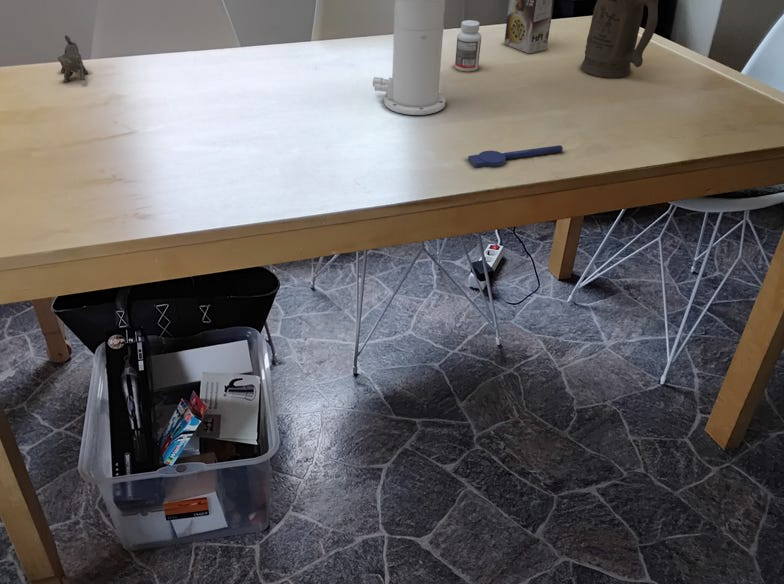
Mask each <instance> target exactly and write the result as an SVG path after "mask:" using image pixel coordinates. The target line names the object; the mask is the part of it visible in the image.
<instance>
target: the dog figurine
mask: <svg viewBox="0 0 784 584" xmlns="http://www.w3.org/2000/svg"><path fill="white" fill-rule="evenodd" d="M64 39H65V41H66V42H67V44H66V45H65V48H64V54H61V55H60V56H58V57H57V61H58V62H59V63H60V65H61V69H60V73H61V74H63V82H64V83H67V82H69V80H70V79H71V77H72V76H73V75H74V73H77V72H79V75H80V81H86V77H85V75H87V74H89V71H88V70H87V68H86V66H85V65H84V63H83V60H82V55H81V54H80V52H79V46H78V45H77V43H76V42H74V41H72V39H71V38H70V37H69V36H68V35H66V34H65V35H64Z"/></svg>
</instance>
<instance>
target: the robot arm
mask: <svg viewBox="0 0 784 584" xmlns="http://www.w3.org/2000/svg"><path fill="white" fill-rule="evenodd" d="M445 9H446V0H394V9H393V10H394V11H393V44H392V47H393V48H392V50H393V51H392V75H391V77H388V78H384V77H378V76H374V77H373V80H372V87H373V88H374V91H375V92H377V91H378V92H385V93H386V94H385V95H384V96H383V104H384V106H385V107H386V108H387V109H388V110H390V111H393V112H395V113H398V114H402V115H411V116H424V115H430V114H434V113H438V112H440V111H441V110H443V109H444V108H445V107H446V101H447V100H446V97H445V95H443V94H442V93H440V80H441V79H440V78H441V65H442V53H443V52H442V51H443V37H444V25H445V24H444V23H445V22H444V21H445Z"/></svg>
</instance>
